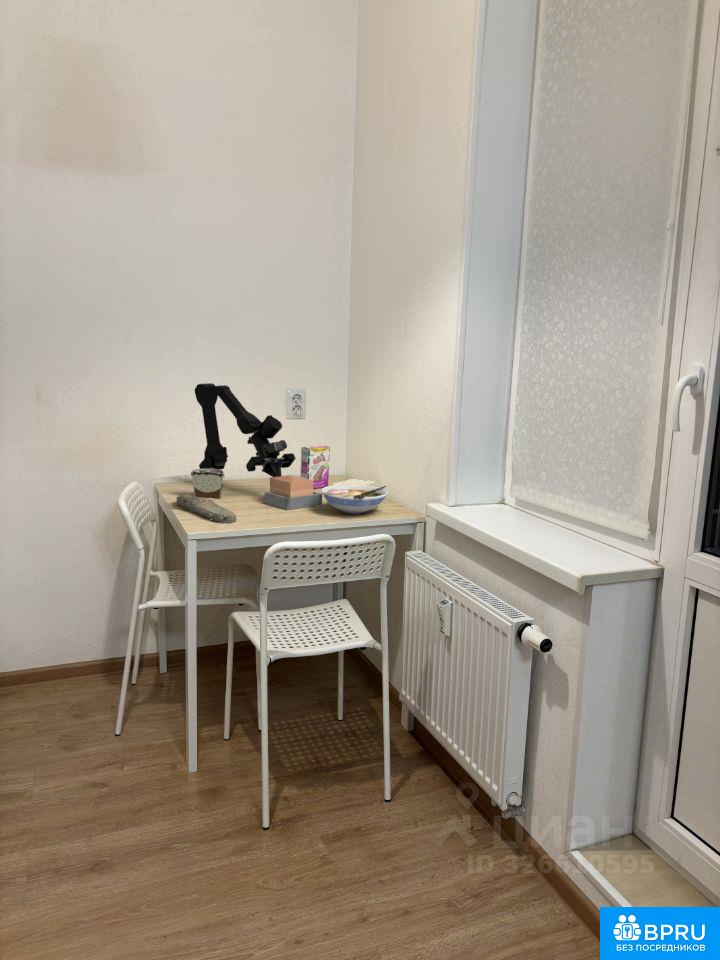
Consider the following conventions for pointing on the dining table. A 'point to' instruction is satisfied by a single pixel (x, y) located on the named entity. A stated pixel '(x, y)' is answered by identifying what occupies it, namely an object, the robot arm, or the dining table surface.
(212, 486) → the food container
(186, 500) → the elongated rock
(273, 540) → the dining table surface
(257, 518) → the dining table surface
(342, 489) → the ramen bowl
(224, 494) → the dining table surface
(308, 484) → the tile stack
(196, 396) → the robot arm
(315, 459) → the candy bar box
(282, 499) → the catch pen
